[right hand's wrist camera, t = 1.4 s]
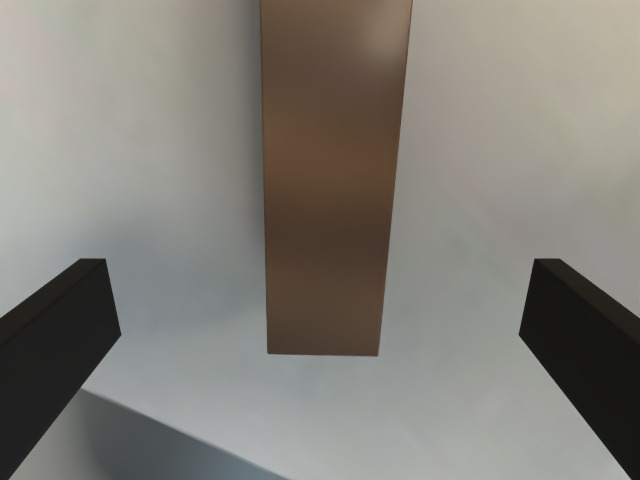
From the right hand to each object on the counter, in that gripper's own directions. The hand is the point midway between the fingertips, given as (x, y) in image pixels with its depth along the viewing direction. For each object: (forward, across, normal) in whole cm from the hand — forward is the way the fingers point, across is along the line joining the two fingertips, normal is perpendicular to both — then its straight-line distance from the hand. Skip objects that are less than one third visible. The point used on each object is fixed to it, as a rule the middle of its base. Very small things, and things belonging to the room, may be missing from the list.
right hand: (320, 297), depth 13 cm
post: (+12, -1, -26) cm, 29 cm away
